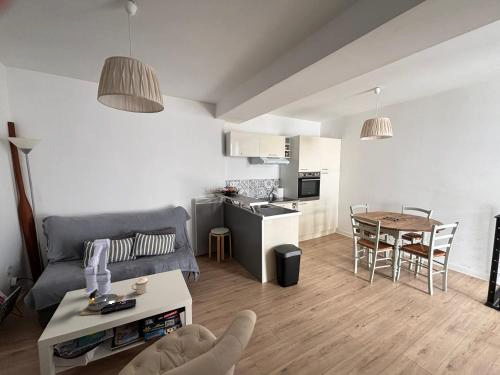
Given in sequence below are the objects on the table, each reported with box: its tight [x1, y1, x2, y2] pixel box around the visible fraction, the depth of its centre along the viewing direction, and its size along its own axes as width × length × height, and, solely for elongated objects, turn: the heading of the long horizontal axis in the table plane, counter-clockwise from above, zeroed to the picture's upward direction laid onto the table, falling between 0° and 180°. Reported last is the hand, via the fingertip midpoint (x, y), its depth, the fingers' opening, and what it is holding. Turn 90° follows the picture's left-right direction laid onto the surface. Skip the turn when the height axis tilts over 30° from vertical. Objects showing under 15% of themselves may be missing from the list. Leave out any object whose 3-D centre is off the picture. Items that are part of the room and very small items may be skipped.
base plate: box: [79, 294, 126, 317], centre depth 152 cm, size 20×20×1 cm
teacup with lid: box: [131, 277, 149, 295], centre depth 169 cm, size 12×9×12 cm
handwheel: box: [87, 293, 118, 311], centre depth 152 cm, size 18×18×6 cm
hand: (92, 300), depth 150 cm, fingers closed
